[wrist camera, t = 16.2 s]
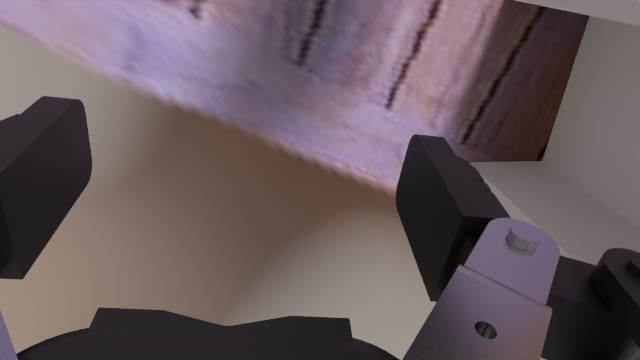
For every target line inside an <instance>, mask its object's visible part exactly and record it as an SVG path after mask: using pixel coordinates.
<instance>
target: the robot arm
mask: <svg viewBox="0 0 640 360" xmlns="http://www.w3.org/2000/svg"><path fill="white" fill-rule="evenodd" d="M91 157H92V156H91V149H90V142H89V135H88V128H87V121H86V114H85V109H84V105H83V103H82V102H81V101H80V100H78V99H68V98H59V97H48V96H43V97H41V98H40V99H38V100H37V101H36V102H35V103H34V104H32V105H31V106H30V107H29V108H28V109H26V110H25V111H24V112H23V113H22V114H16V115H15V116H11V117H9V118H6V119H4V120H1V121H0V278H3V279H23V278H24V277H25V275H26V274H27V272H28V271H29V269H30V268H31V266H32V265H33V263H34V262H35V260H36V259H37V258H38V256H39V255H40V253H41V252H42V250H43V249H44V247H45V246H46V244H47V243H48V241H49V240H50V239H51V237H52V235H53V234H54V233H55V231H56V230H57V228H58V227H59V225H60V224H61V222H62V221H63V219H64V218H65V217H66V215H67V213H68V212H69V211H70V209H71V208H72V206H73V205H74V203H75V202H76V200H77V199H78V197H79V196H80V194H81V193H82V191H83V190H84V189H85V187H86V186H87V184H88V182H89V179H90V176H91V170H92V158H91ZM396 207H397V211H398V213H399V216H400V219H401V222H402V224H403V227H404V230H405V233H406V235H407V238H408V241H409V243H410V246H411V249H412V252H413V254H414V257H415V260H416V262H417V265H418V268H419V271H420V273H421V276H422V279H423V282H424V284H425V287H426V290H427V293H428V295H429V298H430V301H436V302H437V303H436V305H435V306H434V308H433V310H432V312H431V313H430V315H429V317H428V318H427V320H426V321H425V323H424V325H423V326H422V328H421V330H420V331H419V333H418V335H417V336H416V338H415V340H414V341H413V343H412V345H411V347H410V348H409V350H408V351H407V353H406V355H405V356H404V358H403V360H540V358H544V359H547V360H634V359H635V358H636V357H637V355H638V354H639V353H640V253H639V252H636V251H633V250H629V249H624V248H611V249H608V250H606V251H605V252H604V254H603V255H602V257H601V259H600V260H599V262H598V263H597V265H593V264H589V263H586V262H582V261H579V260H575V259H571V258H568V257H564V256H561V255H560V249H559V247H558V245H557V243H556V242H555V241H554V240H553V238H552V237H551V236H549V235H548V234H547V233H546V232H544V231H543V230H541V229H540V228H538V227H536V226H534V225H532V224H530V223H527V222H524V221H521V220H518V219H513V218H511V217H510V216H509V214H508V213H507V211H506V210H505V208H504V207H503V206H502V204H501V203H500V201H499V200H498V199H497V197H496V196H495V194H494V193H493V192H491V189H490V187H489V186H488V185H487V183H486V182H484V179H483V178H482V176H481V175H480V173H479V172H478V171H477V169H476V168H475V167H473V166H472V165H471V164H469V163H468V162H467V161H465V160H464V159H463V158H461V157H457V156H456V155H455V153H454V152H453V150H452V149H451V147H450V146H449V144H448V143H447V141H446V140H445V138H443V137H436V136H427V135H417V134H415V135H413V136H412V138H411V140H410V142H409V145H408V149H407V152H406V156H405V160H404V163H403V167H402V170H401V174H400V178H399V181H398V185H397V190H396ZM0 360H399V359H397V358H396V357H394V356H393V355H391V354H390V353H388V352H387V351H385V350H383V349H381V348H379V347H377V346H375V345H372V344H370V343H367V342H365V341H362V340H359V339H355V338H352V333H351V327H350V320H349V318H328V317H304V316H288V317H282V318H276V319H270V320H264V321H258V322H252V323H246V324H240V325H234V326H223V325H218V324H214V323H210V322H206V321H203V320H199V319H195V318H191V317H187V316H183V315H179V314H175V313H172V312H167V311H164V310H143V309H142V310H141V309H119V308H98V310H97V312H96V314H95V316H94V319H93V321H92V323H91V325H90V327H89V328H86V329H81V330H76V331H73V332H68V333H65V334H62V335H58V336H56V337H53V338H50V339H47V340H44V341H42V342H40V343H38V344H35V345H33V346H31V347H29V348H27V349H25V350H23V351H21V352H19V353H17V354H16V352H15V350H14V347H13V344H12V341H11V338H10V336H9V333H8V330H7V327H6V325H5V322H4V319H3V316H2V313H1V311H0Z"/></svg>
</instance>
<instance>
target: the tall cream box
mask: <svg viewBox="0 0 640 360" xmlns="http://www.w3.org/2000/svg"><path fill="white" fill-rule="evenodd" d="M515 1H520V2H525V3H530V4H535V5H540V6H544V7H549V8H554V9H559V10H564V11H569V12H574V13H579V14H584V15H589V19H588V22H587V25H586V28H585V31H584V34H583V37H582V40H581V43H580V46H579V49H578V52H577V56H576V59H575V62H574V65H573V68H572V71H571V74H570V77H569V80H568V83H567V86H566V89H565V92H564V95H563V99H562V102H561V105H560V108H559V111H558V114H557V117H556V120H555V123H554V126H553V129H552V132H551V135H550V138H549V142H548V145H547V148H546V151H545V154H544V157H543V160H542V161H511V162H468V163H469V164H471V165H472V166H473V167H475V168H476V169H477V171H478V172H479V173H480V175H481V176H482V178H483V179H484V182H486V183H487V185H488V186H489V187H490V189H491V192H493V193H494V194H495V196H496V197H497V199H498V200H499V201H500V203H501V204H502V206H503V207H504V208H505V210H506V211H507V213H508V214H509V216H510V217H511V218H513V219H518V220H521V221H524V222H527V223H530V224H532V225H534V226H536V227H538V228H540V229H541V230H543V231H544V232H546V233H547V234H548V235H549V236H551V237H552V238H553V240H554V241H555V242H556V243H557V245H558V247H559V249H560V255H561V256H564V257H568V258H571V259H575V260H579V261H582V262H586V263H589V264H593V265H597V263H598V262H599V260H600V259H601V257H602V255H603V254H604V252H605V251H606V250H608V249H611V248H624V249H629V250H633V251H636V252H639V253H640V0H515Z"/></svg>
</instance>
